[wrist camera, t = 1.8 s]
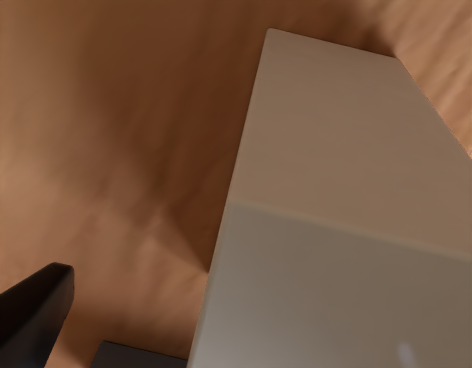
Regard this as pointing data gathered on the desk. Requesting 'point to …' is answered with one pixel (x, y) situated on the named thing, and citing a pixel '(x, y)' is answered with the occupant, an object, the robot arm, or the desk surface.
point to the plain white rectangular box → (340, 222)
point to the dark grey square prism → (132, 358)
